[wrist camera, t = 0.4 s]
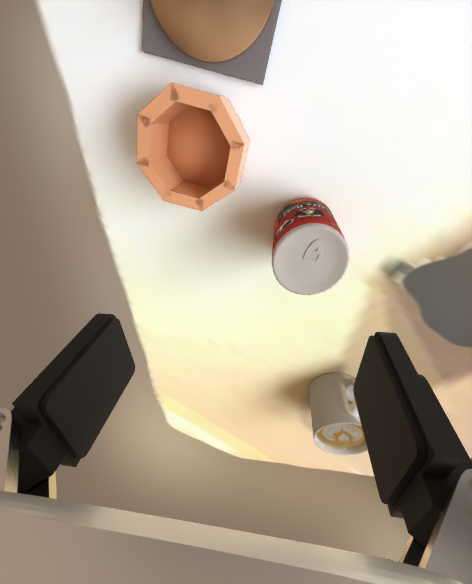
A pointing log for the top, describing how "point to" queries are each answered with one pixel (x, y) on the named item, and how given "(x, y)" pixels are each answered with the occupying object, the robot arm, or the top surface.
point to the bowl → (191, 146)
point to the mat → (242, 67)
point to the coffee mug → (336, 415)
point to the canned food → (308, 248)
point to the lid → (213, 25)
